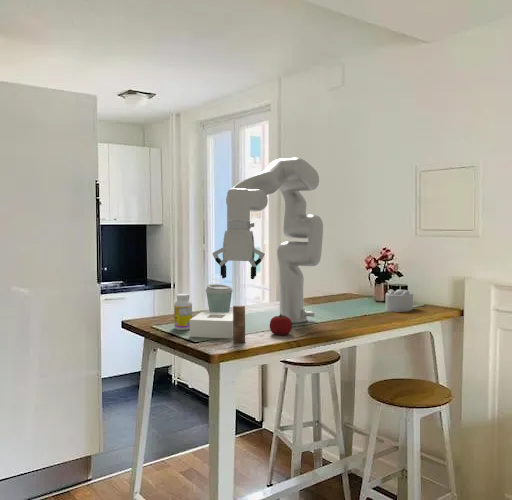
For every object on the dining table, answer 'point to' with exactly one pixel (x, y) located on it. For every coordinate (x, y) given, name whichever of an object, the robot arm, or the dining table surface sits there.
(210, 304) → the disposable coffee cup
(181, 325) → the supplement bottle
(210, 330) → the block
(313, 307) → the dining table surface
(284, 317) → the tomato
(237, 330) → the brown wooden block
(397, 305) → the lumpy-topped squat cylinder
